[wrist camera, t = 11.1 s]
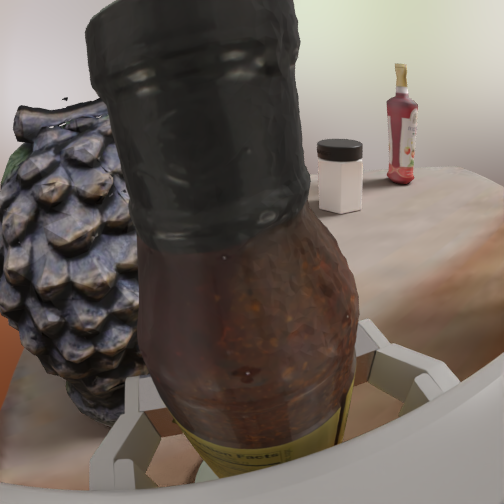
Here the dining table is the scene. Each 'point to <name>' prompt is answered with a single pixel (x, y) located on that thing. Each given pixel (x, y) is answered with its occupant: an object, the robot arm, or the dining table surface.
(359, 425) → the dining table surface
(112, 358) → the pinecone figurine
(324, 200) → the jar
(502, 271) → the dining table surface
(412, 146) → the liquor
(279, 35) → the sauce bottle
